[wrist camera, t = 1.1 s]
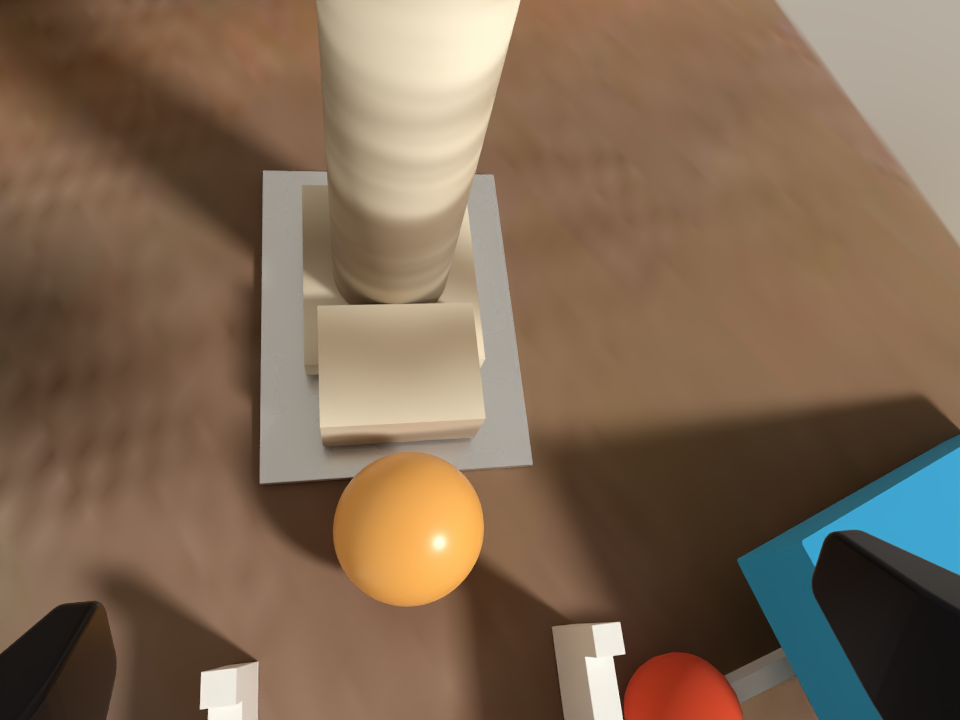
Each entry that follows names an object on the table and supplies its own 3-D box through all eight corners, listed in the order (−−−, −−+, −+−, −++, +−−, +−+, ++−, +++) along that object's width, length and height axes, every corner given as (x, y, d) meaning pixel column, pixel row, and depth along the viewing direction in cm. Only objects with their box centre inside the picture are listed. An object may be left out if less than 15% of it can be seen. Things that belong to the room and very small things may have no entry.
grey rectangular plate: (530, 466, 23) (532, 464, 23) (260, 485, 22) (259, 483, 21) (492, 179, 28) (493, 174, 27) (264, 175, 26) (262, 170, 26)
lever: (857, 470, 31) (560, 630, 21) (1017, 412, 25) (711, 594, 16) (944, 617, 29) (661, 864, 20) (1138, 590, 24) (873, 917, 14)
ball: (430, 635, 21) (448, 635, 17) (307, 565, 21) (296, 549, 17) (493, 510, 23) (524, 483, 19) (380, 446, 23) (385, 406, 19)
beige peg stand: (488, 436, 23) (641, 213, 11) (307, 447, 22) (245, 210, 10) (461, 201, 26) (554, -173, 14) (303, 199, 25) (255, -211, 13)
